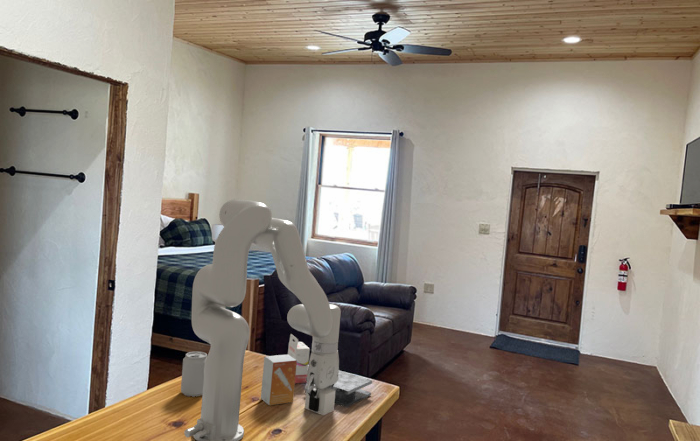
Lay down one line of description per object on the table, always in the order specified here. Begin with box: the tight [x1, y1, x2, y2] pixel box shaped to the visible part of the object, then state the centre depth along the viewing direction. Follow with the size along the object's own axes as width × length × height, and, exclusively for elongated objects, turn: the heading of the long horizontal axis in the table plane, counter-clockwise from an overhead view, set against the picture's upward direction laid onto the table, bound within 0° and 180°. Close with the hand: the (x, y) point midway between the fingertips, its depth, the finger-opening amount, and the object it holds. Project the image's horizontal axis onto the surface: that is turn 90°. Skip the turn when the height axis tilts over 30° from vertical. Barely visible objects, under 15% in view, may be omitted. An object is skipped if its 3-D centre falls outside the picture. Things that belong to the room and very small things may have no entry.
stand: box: [304, 369, 373, 408], centre depth 174 cm, size 14×16×5 cm
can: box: [180, 351, 208, 398], centre depth 164 cm, size 8×8×12 cm
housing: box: [304, 384, 336, 416], centre depth 161 cm, size 5×7×6 cm
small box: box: [260, 353, 297, 406], centre depth 164 cm, size 8×6×13 cm
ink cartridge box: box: [287, 333, 311, 384], centre depth 185 cm, size 9×5×15 cm, turn 25°
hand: (319, 406), depth 161 cm, fingers closed on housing, 5 cm apart
